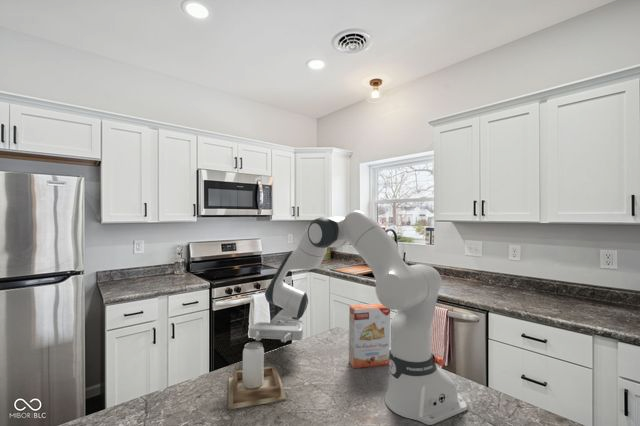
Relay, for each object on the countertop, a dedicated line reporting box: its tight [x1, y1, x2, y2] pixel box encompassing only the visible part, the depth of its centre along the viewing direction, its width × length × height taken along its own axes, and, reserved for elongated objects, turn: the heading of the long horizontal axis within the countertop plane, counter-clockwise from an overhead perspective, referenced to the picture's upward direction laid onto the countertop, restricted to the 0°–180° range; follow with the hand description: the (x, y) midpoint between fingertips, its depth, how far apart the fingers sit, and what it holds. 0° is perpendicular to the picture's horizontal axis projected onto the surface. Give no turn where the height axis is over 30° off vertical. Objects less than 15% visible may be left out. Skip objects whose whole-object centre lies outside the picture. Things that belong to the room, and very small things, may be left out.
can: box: [242, 341, 265, 389], centre depth 94 cm, size 6×6×12 cm
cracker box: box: [348, 303, 391, 369], centre depth 109 cm, size 14×6×21 cm, turn 104°
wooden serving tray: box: [227, 365, 287, 410], centre depth 92 cm, size 16×16×3 cm
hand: (270, 339), depth 105 cm, fingers open, 8 cm apart
